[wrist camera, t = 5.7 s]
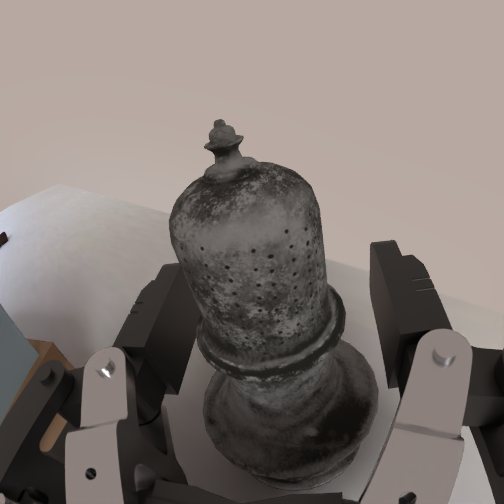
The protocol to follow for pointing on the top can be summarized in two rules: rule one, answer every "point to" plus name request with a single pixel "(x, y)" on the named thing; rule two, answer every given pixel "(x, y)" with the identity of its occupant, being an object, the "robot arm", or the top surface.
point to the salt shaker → (270, 322)
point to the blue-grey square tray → (12, 361)
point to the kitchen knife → (3, 238)
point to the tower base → (46, 353)
